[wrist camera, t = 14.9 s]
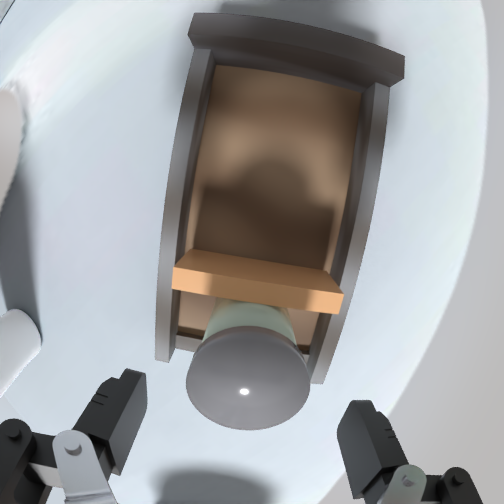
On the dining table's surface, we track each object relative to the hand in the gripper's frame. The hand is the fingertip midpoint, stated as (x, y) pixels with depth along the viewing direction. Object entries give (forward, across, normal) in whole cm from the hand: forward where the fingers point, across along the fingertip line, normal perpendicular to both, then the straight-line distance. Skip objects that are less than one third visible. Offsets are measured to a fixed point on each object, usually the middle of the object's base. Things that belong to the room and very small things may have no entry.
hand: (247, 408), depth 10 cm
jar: (+11, 0, +1) cm, 11 cm away
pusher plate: (+10, 0, -2) cm, 10 cm away
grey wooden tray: (+11, 0, -6) cm, 13 cm away
